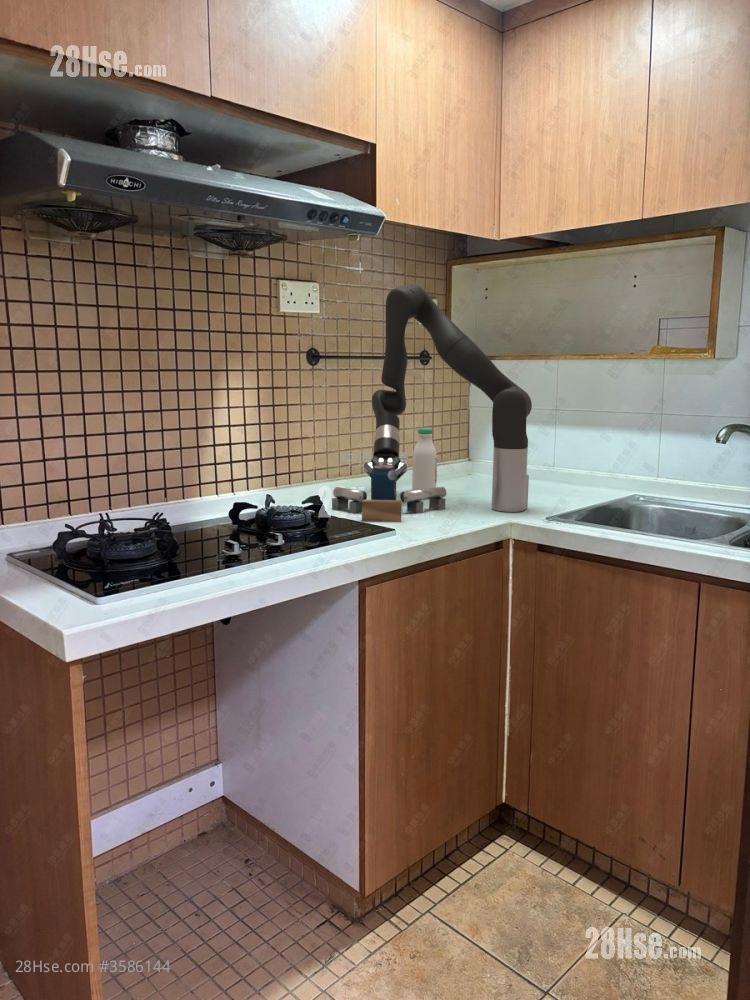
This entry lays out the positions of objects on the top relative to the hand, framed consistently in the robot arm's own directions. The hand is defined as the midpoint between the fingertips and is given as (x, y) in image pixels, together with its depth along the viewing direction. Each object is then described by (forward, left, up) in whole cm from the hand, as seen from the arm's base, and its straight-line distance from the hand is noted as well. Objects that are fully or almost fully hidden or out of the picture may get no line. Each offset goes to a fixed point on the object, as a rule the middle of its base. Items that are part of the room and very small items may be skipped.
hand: (384, 492), depth 200 cm
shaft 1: (+10, -2, -4) cm, 11 cm away
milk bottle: (-28, -16, -4) cm, 33 cm away
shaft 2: (-6, +10, -4) cm, 12 cm away
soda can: (+2, +2, -4) cm, 5 cm away
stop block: (+11, +13, -4) cm, 18 cm away
